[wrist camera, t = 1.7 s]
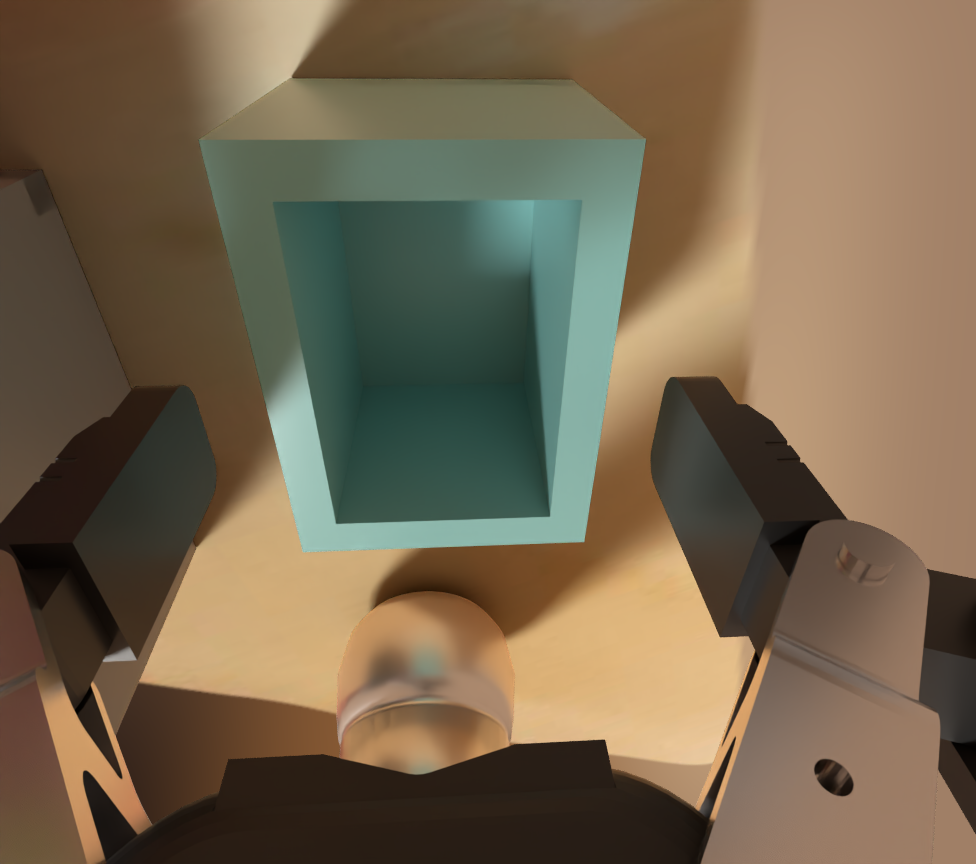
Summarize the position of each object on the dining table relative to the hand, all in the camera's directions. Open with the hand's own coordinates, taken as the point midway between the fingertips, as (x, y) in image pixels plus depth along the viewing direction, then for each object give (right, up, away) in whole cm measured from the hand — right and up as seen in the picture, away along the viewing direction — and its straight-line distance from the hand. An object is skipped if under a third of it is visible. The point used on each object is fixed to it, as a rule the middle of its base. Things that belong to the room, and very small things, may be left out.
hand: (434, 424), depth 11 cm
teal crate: (0, +4, +5) cm, 6 cm away
